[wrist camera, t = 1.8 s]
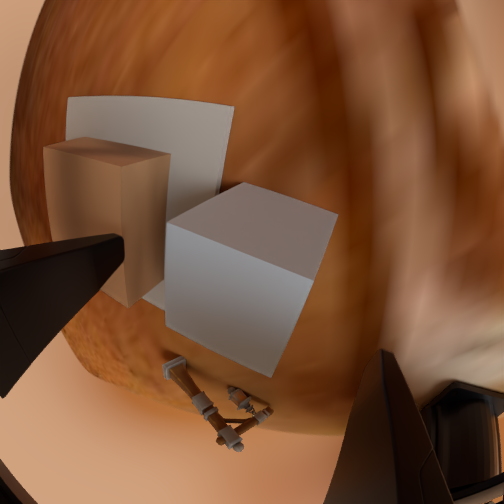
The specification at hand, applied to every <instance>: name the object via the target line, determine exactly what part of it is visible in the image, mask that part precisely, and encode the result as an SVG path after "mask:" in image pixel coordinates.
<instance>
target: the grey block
mask: <svg viewBox="0 0 504 504" xmlns="http://www.w3.org/2000/svg"><path fill="white" fill-rule="evenodd" d="M337 217H338V214H336V213H333V212H330V211H328V210H325V209H322V208H320V207H317V206H314V205H311V204H308V203H306V202H303V201H300V200H297V199H294V198H291V197H288V196H285V195H282V194H279V193H276V192H273V191H270V190H267V189H264V188H261V187H258V186H255V185H252V184H248V183H245V182H243V183H241V184H239V185H237V186H235V187H233V188H231V189H229V190H227V191H225V192H223V193H221V194H219V195H217V196H215V197H213V198H211V199H209V200H207V201H205V202H203V203H201V204H199V205H198V206H196V207H194V208H192V209H190V210H188V211H186V212H184V213H183V214H181V215H179V216H177V217H175V218H173V219H171V220H170V221H168V222H167V228H166V253H165V326H167V327H169V328H170V329H172V330H174V331H176V332H178V333H179V334H181V335H183V336H185V337H187V338H189V339H190V340H192V341H194V342H196V343H198V344H200V345H202V346H204V347H206V348H208V349H210V350H212V351H214V352H216V353H218V354H220V355H222V356H224V357H226V358H228V359H230V360H232V361H234V362H236V363H239V364H241V365H243V366H245V367H247V368H249V369H252V370H254V371H256V372H258V373H261V374H263V375H265V376H268V377H270V378H271V377H272V375H273V373H274V371H275V369H276V367H277V365H278V363H279V360H280V358H281V356H282V354H283V352H284V350H285V347H286V345H287V343H288V341H289V339H290V336H291V334H292V332H293V330H294V327H295V325H296V323H297V320H298V318H299V316H300V313H301V311H302V309H303V306H304V304H305V301H306V299H307V297H308V294H309V292H310V289H311V287H312V284H313V282H314V279H315V277H316V274H317V272H318V269H319V266H320V264H321V261H322V258H323V256H324V253H325V250H326V248H327V245H328V242H329V240H330V237H331V234H332V231H333V228H334V225H335V223H336V220H337Z"/></svg>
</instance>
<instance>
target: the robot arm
mask: <svg viewBox="0 0 504 504" xmlns="http://www.w3.org/2000/svg"><path fill="white" fill-rule="evenodd" d="M124 259H125V247H124V239H123V237H122V236H120V235H118V234H116V233H110V234H102V235H95V236H88V237H81V238H74V239H67V240H61V241H54V242H48V243H42V244H36V245H30V246H24V247H18V248H12V249H6V250H0V396H1V398H4V397H6V395H7V394H8V393H9V391H10V390H11V389H12V388H13V386H14V385H15V384H16V382H17V381H18V380H19V378H20V377H21V376H22V375H23V374H24V372H25V371H26V370H27V369H28V368H29V366H30V365H31V363H32V362H33V361H34V360H35V359H36V358H37V357H38V355H39V354H40V353H41V352H42V351H43V349H44V348H45V347H46V346H47V345H48V344H49V343H50V342H51V341H52V339H53V338H54V337H55V336H56V335H57V334H58V333H59V332H60V331H61V330H62V328H63V327H64V326H65V325H66V324H67V323H68V322H69V321H70V320H71V319H72V318H73V317H74V316H75V315H76V314H77V313H78V311H79V310H80V309H81V308H82V307H83V306H84V305H85V304H86V303H87V302H88V301H89V300H90V299H91V298H92V297H93V296H94V295H95V294H96V293H97V292H98V291H99V290H100V289H101V288H102V286H103V285H104V284H105V283H106V282H107V280H108V279H109V278H110V277H111V276H112V275H113V273H114V272H115V271H116V270H117V269H118V268H119V267H120V265H121V264H122V263H123V261H124ZM503 412H504V394H500V393H496V392H492V391H488V390H484V389H481V388H477V387H473V386H470V385H466V384H463V383H459V382H456V383H453V384H451V385H449V386H448V387H447V388H446V389H445V390H444V391H443V392H442V393H441V394H440V395H438V396H437V397H436V398H435V399H434V400H433V401H432V402H431V403H430V404H428V405H427V406H426V407H425V408H424V409H423V410H421V411H420V412H419V410H418V407H417V405H416V403H415V400H414V398H413V396H412V393H411V391H410V389H409V386H408V384H407V382H406V380H405V378H404V375H403V373H402V371H401V369H400V367H399V365H398V362H397V360H396V358H395V356H394V354H393V353H392V352H391V351H388V350H385V349H379V350H378V351H377V352H376V354H375V355H374V356H373V358H372V359H371V360H370V361H369V363H368V364H367V366H366V367H365V369H364V372H363V375H362V379H361V382H360V385H359V388H358V391H357V395H356V398H355V401H354V404H353V406H352V409H351V413H350V416H349V420H348V424H347V428H346V432H345V436H344V440H343V443H342V447H341V451H340V454H339V458H338V461H337V465H336V468H335V471H334V474H333V477H332V480H331V483H330V486H329V489H328V492H327V495H326V498H325V500H324V503H323V504H482V503H484V504H504V472H503V473H502V467H501V466H502V465H501V464H502V463H501V444H500V433H499V424H498V416H499V415H500V414H502V413H503ZM502 495H503V500H502V501H500V502H498V503H494V502H492V501H490V500H492V499H495V498H497V497H500V496H502ZM487 501H489V502H487ZM485 502H487V503H485ZM0 504H38V503H37V502H36V501H35V500H34V499H33V498H32V497H31V496H30V495H29V494H28V493H27V491H26V490H25V489H24V488H23V487H22V486H21V484H20V483H19V482H18V481H17V480H16V479H15V477H14V476H13V475H12V474H11V472H10V471H9V470H8V468H7V467H6V466H5V465H4V463H3V462H2V460H1V459H0Z"/></svg>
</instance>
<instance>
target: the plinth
mask: <svg viewBox="0 0 504 504" xmlns="http://www.w3.org/2000/svg"><path fill="white" fill-rule="evenodd" d="M43 158H44V178H45V190H46V200H47V208H48V216H49V223H50V229H51V235H52V241H53V242H54V241H61V240H67V239H74V238H81V237H88V236H95V235H102V234H110V233H116V234H118V235H120V236H122V237H123V239H124V247H125V259H124V261H123V263H122V264H121V265H120V267H119V268H118V269H117V270H116V271H115V272H114V273H113V275H112V276H111V277H110V278H109V279H108V280H107V282H106V283H105V284H104V285H103V286H102V288H101V289H100V290H101V291H103V292H104V293H106V294H107V295H109V296H110V297H112V298H113V299H115V300H116V301H118V302H119V303H121V304H122V305H124V306H125V307H127V308H128V309H129V308H130V307H131V306H132V305H133V304H135V303H136V302H137V301H138V300H139V299H141V298H142V297H143V296H144V295H145V294H147V293H148V292H149V291H150V290H151V289H153V288H154V287H155V286H156V285H158V284H159V283H160V282H161V281H163V280H164V249H165V224H166V207H167V193H168V180H169V170H170V160H171V154H169V153H165V152H161V151H156V150H152V149H147V148H143V147H138V146H133V145H128V144H123V143H118V142H113V141H107V140H102V139H96V138H90V137H81V138H76V139H72V140H68V141H63V142H59V143H55V144H52V145H48V146H44V147H43Z"/></svg>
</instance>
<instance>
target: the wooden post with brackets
mask: <svg viewBox="0 0 504 504" xmlns="http://www.w3.org/2000/svg"><path fill="white" fill-rule="evenodd" d="M163 374H164V378H166V379H167V380H169V379H172V380H173V381H175V382H176V383H177V384H178V385H179V386H180V387H181V388H182V389H183V390H184V391H185V392H186V393H187V394H188V396H189V397H190V398H191V399H192V404H194V405H195V407H196V408H197V409H198V411H199V412H200V414H201V415H204V419H205V420H206V421H207V420H208V421H209V422H210V423H211V425H212V426H213V427H214V428H215V430H216V431H217V432H218V438H217V440H216V442H217V443H218V444H219V445H223V444H226V446H227V447H228V449H231V448H232V447H233V449H234V450H235V451H237V452H240V451H242V450H243V449H244V445H243V444H242V443H241V441H242V438H241V437H240V436H239V435H241V434H243V433H244V432H246V431H247V430H249V429H250V428H252V427H253V426H255V425H259V424H260V423H261V422H263V421H264V420H265V419H266V418H268V416H270V415H271V414H272V413H273V410H272V409H271V408H270V407H269V406H268V407H267V408H265V409H263V411H261V410H260V411H259V412H257V413H256V412H255V410H254V408H253V405H251V406H250V404H249V401H250V399H251V396H250V397H247V396H246V395H245V394H244V393H243V392H242V390H241V389H239V388H238V389H237V390H236V389H235V388H234V387H229V388H228V393H229V394H230V396H229V400H231V401H233V402H234V403H235V404H236V405H237V406H238V408H237V410H240V409H243V408H245V409H247V410H246V412H249V413H252V414H253V416H252V418H248V419H225V418H223V417H222V416H221V415H219V413H218V409H217V407H213V404H214V403H213V402H212V401H210V399H209V398H208V397H207V396H206V395H205V393H204V391H203V392H201V391H200V389H199V388H198V387H197V386H196V384H195V383H194V381H193V380H192V378H191V376H190V375H189V373H188V372H187V370H186V359H185V358H184V357H182V356H180V357H178V358H176V359H174V360H171V361H169V362H167V363H165V364H163ZM252 409H253V411H252V412H250V411H251V410H252ZM254 413H255V414H254ZM226 423H243V424H241V425H239V426H238V427H236V428H235V429H233V428H232V427H231V425H229V426H228V425H227V424H226Z"/></svg>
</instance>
